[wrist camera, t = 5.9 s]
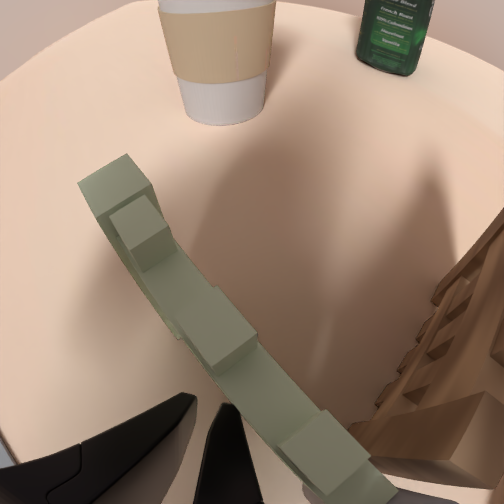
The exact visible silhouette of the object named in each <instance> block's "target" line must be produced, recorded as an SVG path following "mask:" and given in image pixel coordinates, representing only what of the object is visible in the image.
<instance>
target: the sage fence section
mask: <svg viewBox="0 0 504 504" xmlns="http://www.w3.org/2000/svg"><path fill="white" fill-rule="evenodd" d="M77 184H78V186H79V188H80V190H81V192H82V193H83V195H84V197H85V199H86V201H87V203H88V205H89V207H90V209H91V211H92V213H93V215H94V216H95V218H96V220H97V222H98V223H99V225H100V227H101V228H102V230H103V232H104V233H105V235H106V236H107V238H108V240H109V241H110V243H111V244H112V246H113V248H114V249H115V251H116V252H117V254H118V255H119V257H120V259H121V260H122V262H123V263H124V265H125V266H126V268H127V269H128V271H129V272H130V274H131V275H132V277H133V278H134V280H135V281H136V283H137V284H138V286H139V287H140V289H141V290H142V291H143V293H144V294H145V296H146V297H147V299H148V300H149V301H150V303H151V304H152V306H153V307H154V309H155V310H156V311H157V313H158V314H159V315H160V317H161V318H162V320H163V321H164V322H165V324H166V325H167V326H168V328H169V329H170V330H171V332H172V333H173V334H174V336H175V337H176V338H177V340H179V339H180V338H182V340H183V341H184V342H185V344H186V345H187V346H188V348H189V349H190V350H191V352H192V353H193V355H194V356H195V357H196V359H197V360H198V361H199V362H200V364H201V365H202V366H203V368H204V369H205V370H206V372H207V373H208V374H209V376H210V377H211V378H212V379H213V381H214V382H215V383H216V384H217V386H218V387H219V388H220V389H221V391H222V392H223V393H224V394H225V396H226V397H227V398H228V399H229V401H230V402H231V403H232V404H233V405H234V406H235V407H236V408H237V409H238V411H239V412H240V414H241V415H242V416H243V417H244V419H245V420H246V421H247V422H248V423H249V424H250V426H251V427H252V428H253V429H254V430H255V431H256V432H257V434H258V435H259V436H260V437H261V438H262V439H263V440H264V442H265V443H266V444H267V445H268V446H269V447H270V448H271V449H272V450H273V451H274V453H275V454H276V455H277V456H278V457H279V458H280V459H281V460H282V461H283V462H284V463H285V464H286V465H287V467H288V468H289V469H290V470H291V471H292V472H293V473H294V474H295V475H296V476H297V477H298V478H299V479H300V480H301V481H302V482H303V493H304V496H305V497H306V499H307V500H308V501H309V502H310V503H311V504H459V503H457V502H455V501H452V500H448V499H443V498H438V497H434V496H429V495H425V494H421V493H417V492H413V491H409V490H405V489H401V488H398V487H395V486H394V485H393V484H392V483H391V482H390V481H389V480H388V479H387V478H386V477H385V476H384V475H383V474H382V473H381V472H380V471H379V470H378V469H376V468H375V467H374V466H373V465H372V464H371V463H370V462H369V461H368V458H369V457H371V455H370V454H369V453H368V452H367V451H366V450H365V449H364V448H363V447H362V446H361V445H360V444H359V443H358V442H357V441H356V440H355V439H354V438H353V437H352V436H351V434H350V433H349V432H348V431H347V430H346V429H345V428H344V427H343V426H342V425H341V424H340V423H339V422H338V421H337V420H336V419H335V418H334V417H333V416H332V415H331V413H330V412H329V411H328V410H327V409H325V410H322V411H320V410H319V408H318V407H317V406H316V405H315V404H314V403H313V402H312V401H311V400H310V399H309V398H308V397H307V395H306V394H305V393H304V392H303V391H302V390H301V389H300V388H299V387H298V386H297V384H296V383H295V382H294V381H293V380H292V379H291V378H290V377H289V376H288V374H287V373H286V372H285V371H284V370H283V369H282V368H281V367H280V366H279V364H278V363H277V362H276V361H275V360H274V359H273V358H272V356H271V355H270V354H269V353H268V352H267V351H266V350H265V348H264V347H263V346H262V345H261V344H260V343H259V342H258V340H257V338H258V333H257V331H256V330H255V329H254V328H253V327H252V326H251V325H250V323H249V322H248V321H247V320H246V319H245V318H244V316H243V315H242V314H241V313H240V312H239V311H238V309H237V308H236V307H235V306H234V305H233V303H232V302H231V301H230V300H229V299H228V298H227V296H226V295H225V294H224V293H223V292H222V290H221V289H220V288H219V287H218V286H217V285H216V286H215V287H212V286H211V285H210V283H209V282H208V281H207V280H206V278H205V277H204V276H203V275H202V273H201V272H200V271H199V270H198V269H197V267H196V266H195V265H194V264H193V262H192V261H191V260H190V259H189V257H188V256H187V255H186V254H185V252H184V251H183V250H182V248H181V247H180V246H179V245H178V243H177V242H176V241H175V240H174V238H173V236H172V233H171V231H170V228H169V225H168V224H167V223H166V221H165V220H164V218H163V215H162V212H161V209H160V206H159V204H158V201H157V198H156V195H155V192H154V189H153V186H152V184H151V182H150V181H149V180H148V179H147V177H146V176H145V175H144V174H143V173H142V171H141V170H140V169H139V168H138V166H137V165H136V164H135V163H134V162H133V160H132V159H131V158H130V157H129V155H128V154H125V155H123V156H121V157H120V158H118V159H116V160H114V161H113V162H111V163H109V164H108V165H106V166H104V167H102V168H101V169H99V170H97V171H96V172H94V173H93V174H91V175H89V176H88V177H86V178H84V179H83V180H81V181H80V182H78V183H77Z"/></svg>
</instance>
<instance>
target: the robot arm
mask: <svg viewBox="0 0 504 504" xmlns="http://www.w3.org/2000/svg"><path fill="white" fill-rule="evenodd" d="M196 415H197V397H196V396H195V395H192V394H188V393H185V392H181V393H179V394H177V395H175V396H173V397H172V398H170V399H168V400H166V401H164V402H162V403H160V404H158V405H157V406H155V407H153V408H151V409H149V410H147V411H145V412H143V413H141V414H139V415H137V416H135V417H133V418H131V419H129V420H127V421H125V422H123V423H121V424H119V425H117V426H115V427H113V428H111V429H109V430H107V431H105V432H102V433H100V434H98V435H96V436H94V437H92V438H90V439H87V440H85V441H83V442H81V444H79V443H78V444H76V445H74V446H71V447H69V448H67V449H64V450H62V451H59V452H57V453H54V454H51V455H49V456H45V457H42V458H39V459H36V460H32V461H29V462H25V463H21V464H17V465H13V466H8V467H4V468H0V504H161V503H162V501H163V499H164V497H165V495H166V493H167V492H168V490H169V488H170V486H171V484H172V482H173V480H174V479H175V477H176V475H177V473H178V470H179V468H180V465H181V463H182V460H183V457H184V454H185V452H186V449H187V446H188V443H189V440H190V438H191V435H192V432H193V429H194V426H195V423H196ZM193 504H264V502H263V498H262V494H261V491H260V487H259V484H258V480H257V477H256V473H255V469H254V466H253V462H252V458H251V454H250V451H249V447H248V443H247V439H246V435H245V431H244V428H243V424H242V420H241V416H240V412H239V411H238V409H237V408H236V407H235V406H234V405H233V404H229V403H222V404H221V406H220V408H219V410H218V412H217V414H216V416H215V418H214V420H213V422H212V424H211V427H210V429H209V431H208V435H207V438H206V443H205V448H204V453H203V458H202V462H201V467H200V472H199V477H198V482H197V487H196V492H195V496H194V501H193Z"/></svg>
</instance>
